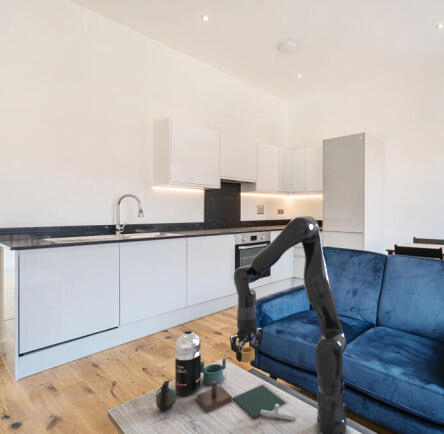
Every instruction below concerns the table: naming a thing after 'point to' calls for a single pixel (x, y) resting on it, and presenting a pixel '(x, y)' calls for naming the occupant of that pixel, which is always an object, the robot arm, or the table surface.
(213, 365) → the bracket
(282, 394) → the table surface
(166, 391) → the hand grenade
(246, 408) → the desk mat
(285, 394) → the table surface
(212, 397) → the tape holder
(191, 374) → the black ribbed cylinder
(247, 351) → the tape roll
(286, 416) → the pipe joint
